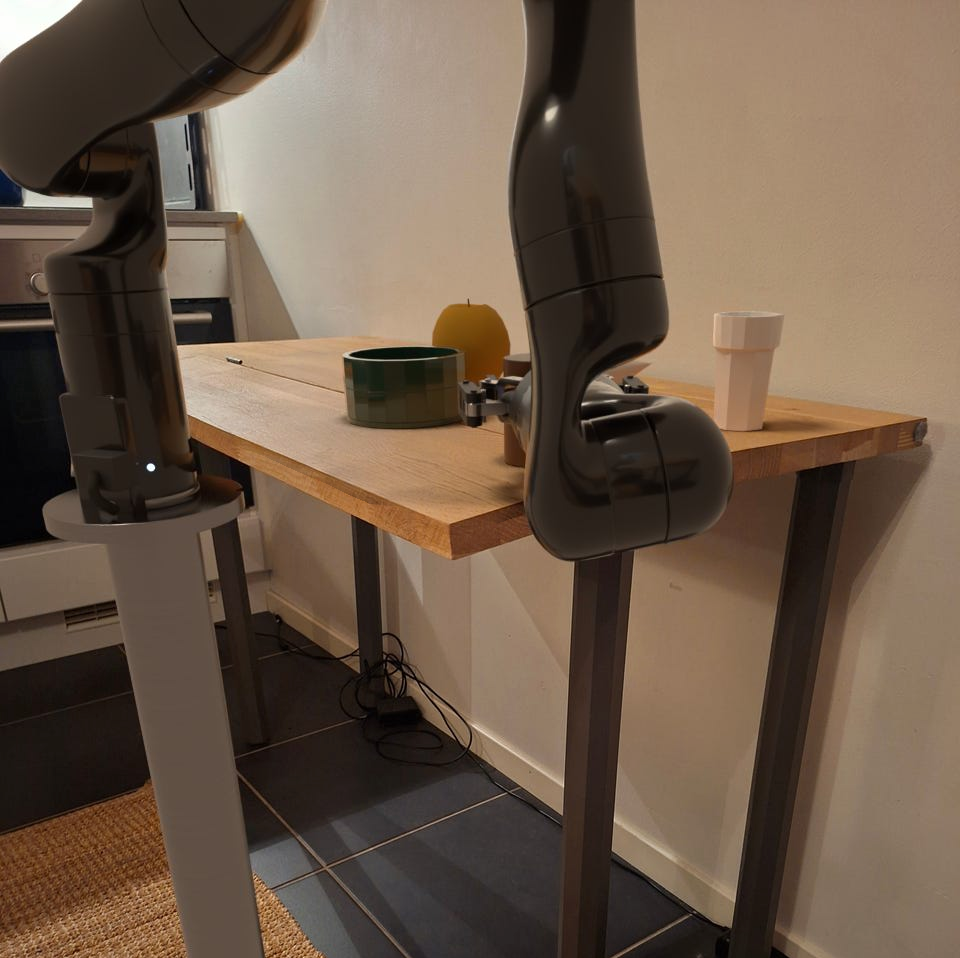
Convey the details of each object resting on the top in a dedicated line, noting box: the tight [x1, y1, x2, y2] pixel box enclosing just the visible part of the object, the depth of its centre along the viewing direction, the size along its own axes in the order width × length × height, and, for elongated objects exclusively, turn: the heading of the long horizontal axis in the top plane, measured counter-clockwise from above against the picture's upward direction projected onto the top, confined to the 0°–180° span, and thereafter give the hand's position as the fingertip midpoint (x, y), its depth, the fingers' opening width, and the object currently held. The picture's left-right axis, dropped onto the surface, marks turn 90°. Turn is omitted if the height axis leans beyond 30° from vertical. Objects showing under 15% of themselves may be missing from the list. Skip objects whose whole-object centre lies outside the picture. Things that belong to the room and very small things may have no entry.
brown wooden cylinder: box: [502, 352, 531, 468], centre depth 80 cm, size 6×6×9 cm
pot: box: [341, 345, 467, 430], centre depth 101 cm, size 14×14×7 cm
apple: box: [431, 298, 512, 387], centre depth 111 cm, size 10×10×12 cm
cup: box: [712, 310, 785, 432], centre depth 92 cm, size 7×7×11 cm
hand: (539, 386), depth 76 cm, fingers open, 8 cm apart
